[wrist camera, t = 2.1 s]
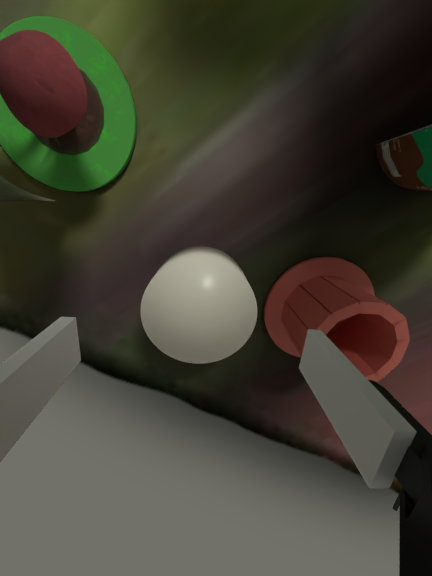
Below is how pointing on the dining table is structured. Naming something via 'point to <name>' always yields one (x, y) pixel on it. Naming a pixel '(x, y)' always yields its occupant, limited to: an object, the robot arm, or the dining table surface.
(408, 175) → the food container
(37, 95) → the translucent plastic tub
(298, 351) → the red flanged cylinder
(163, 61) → the dining table surface
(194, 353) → the grey rounded piece
